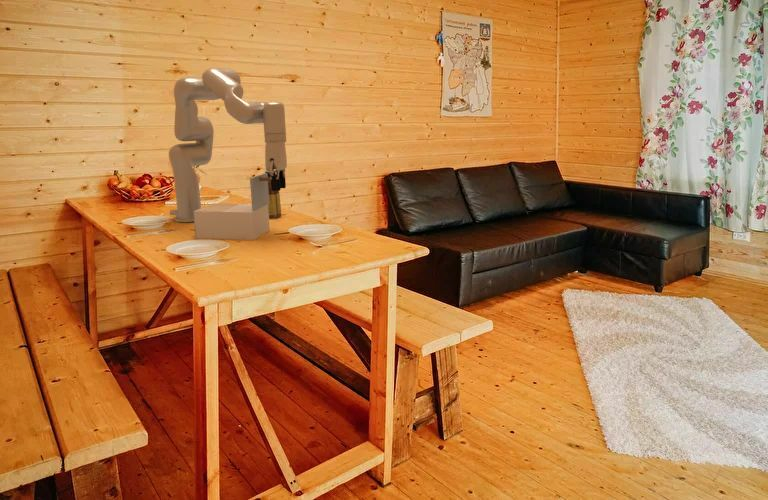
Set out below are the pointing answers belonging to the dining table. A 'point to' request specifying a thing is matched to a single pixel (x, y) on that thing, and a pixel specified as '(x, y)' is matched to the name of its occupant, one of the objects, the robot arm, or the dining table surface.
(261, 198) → the flap
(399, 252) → the dining table surface
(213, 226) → the carton
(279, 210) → the sauce bottle
